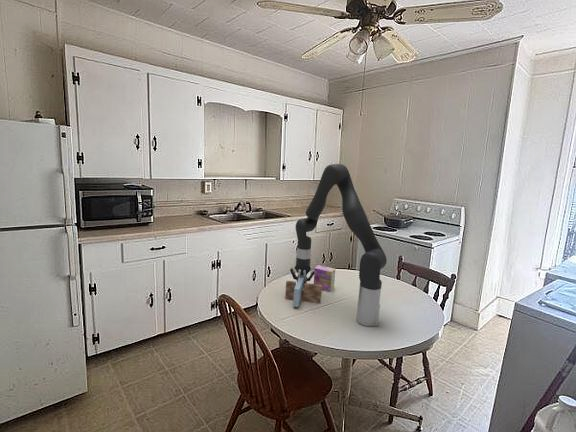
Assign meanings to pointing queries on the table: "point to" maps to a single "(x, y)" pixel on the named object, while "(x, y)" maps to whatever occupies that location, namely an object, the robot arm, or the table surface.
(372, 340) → the table surface
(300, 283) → the notched plate
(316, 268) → the box
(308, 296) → the slotted board
